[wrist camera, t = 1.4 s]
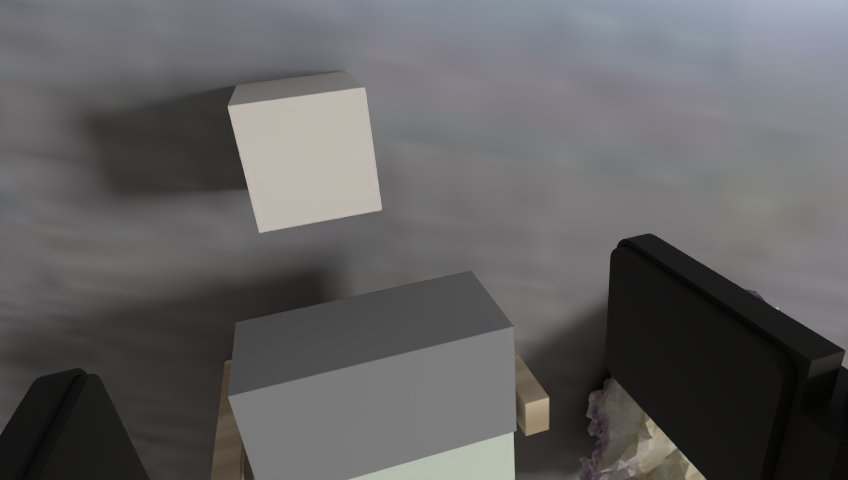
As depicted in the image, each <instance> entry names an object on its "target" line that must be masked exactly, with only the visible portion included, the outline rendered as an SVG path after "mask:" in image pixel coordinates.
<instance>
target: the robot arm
mask: <svg viewBox="0 0 848 480" xmlns="http://www.w3.org/2000/svg"><path fill="white" fill-rule="evenodd" d="M844 354H845V350H844V349H842V348H840V347H839V346H837V345H835V344H834V343H832V342H830V341H829V340H827V339H825V338H824V337H822V336H820V335H819V334H817V333H815V332H814V331H812V330H811V329H809V328H807V327H806V326H804V325H802V324H801V323H799V322H797V321H796V320H794V319H792V318H791V317H789V316H787V315H786V314H784V313H782V312H781V311H779V310H777V309H776V308H774V307H772V306H771V305H769V304H768V303H766V302H764V301H763V300H761V299H759V298H758V297H756V296H754V295H753V294H751V293H749V292H748V291H746V290H744V289H743V288H741V287H739V286H738V285H736V284H734V283H733V282H731V281H729V280H728V279H726V278H725V277H723V276H721V275H720V274H718V273H716V272H715V271H713V270H711V269H710V268H708V267H706V266H705V265H703V264H701V263H700V262H698V261H696V260H695V259H693V258H691V257H690V256H688V255H686V254H685V253H683V252H681V251H680V250H678V249H677V248H675V247H673V246H672V245H670V244H668V243H667V242H665V241H663V240H662V239H660V238H658V237H657V236H655V235H653V234H644V235H639V236H635V237H631V238H627V239H623V240H621V241H620V242H619V243H618V245H617V248H616V249H614V250H613V251H612V253H611V257H610V277H609V297H608V317H607V336H606V356H605V358H606V365H607V368H608V370H609V372H610V374H611V375H612V377H613V378H614V379H615V380H616V381H617V382H618V383H619V385H620V386H621V387H622V388H623V389H624V390H625V391H626V392H627V393H628V394H629V395H630V397H631V398H632V399H633V400H634V401H635V402H636V403H637V404H638V405H639V406H640V407H641V409H642V410H643V411H644V412H645V413H646V414H647V415H648V416H649V417H650V418H651V420H652V421H653V422H654V423H655V424H656V425H657V426H658V427H659V428H660V429H661V430H662V432H663V433H664V434H665V435H666V436H667V437H668V438H669V439H670V440H671V441H672V442H673V444H674V445H675V446H676V447H677V448H678V449H679V450H680V451H681V452H682V453H683V454H684V456H685V457H686V458H687V459H688V460H689V461H690V462H691V463H692V464H693V465H694V466H695V468H696V469H697V470H698V471H699V472H700V473H701V474H702V475H703V476H704V477H705V479H706V480H848V369H846V368H845V367H843V366H841V364H842V361H843V357H844ZM0 480H150V479H149V477H148V475H147V473H146V471H145V469H144V467H143V465H142V463H141V461H140V459H139V457H138V455H137V453H136V451H135V449H134V447H133V444H132V442H131V440H130V438H129V436H128V434H127V432H126V430H125V428H124V426H123V424H122V422H121V420H120V418H119V416H118V414H117V412H116V410H115V408H114V406H113V404H112V401H111V399H110V397H109V395H108V393H107V391H106V389H105V387H104V385H103V383H102V381H101V379H100V378H99V376H97V375H96V374H89V375H87V373H86V372H85V371H84V370H82V369H80V368H76V369H72V370H67V371H63V372H59V373H55V374H50V375H46V376H42V377H39V378H37V379H36V380H35V381H34V382H33V384H32V385H31V387H30V389H29V390H28V392H27V393H26V395H25V397H24V398H23V400H22V401H21V403H20V405H19V406H18V408H17V409H16V411H15V413H14V414H13V416H12V417H11V419H10V421H9V422H8V424H7V425H6V427H5V429H4V430H3V432H2V433H1V435H0Z"/></svg>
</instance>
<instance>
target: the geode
mask: <svg viewBox="0 0 848 480" xmlns="http://www.w3.org/2000/svg"><path fill="white" fill-rule="evenodd" d="M746 291H748V292H749V293H751V294H753V295H754V296H756V297H758V298H759V299H761V300H763V301H764V299H763V298H762V297H761V296H760V295H759V294H758V293H757V292H756V291H752V290H746ZM764 302H765V301H764ZM771 306H772V305H771ZM772 307H774V308H776V309H777V310H779V309H778V307H776V306H772ZM588 401H589V407H588V411H587V414H586V416H587V417H589V418H591V419H592V421H591V423H590V425H589V427H588V428H587V430H588V432H589V433H590V435H591V436H598V438H599V439H600V440H598V441H597V442H596V443H595V445H596V447H597V449H596V450H595V451H594V452H593V453H592V459H591V458H590V457H588V456H584V457H580V458H578V459H579V460H580V462H581V463H582V470H583V474H580V475H579V476H580V480H706V479H705V477H704V476H703V475H702V474H701V473H700V472H699V471H698V470H697V469H696V468H695V466H694V465H693V464H692V463H691V462H690V461H689V460H688V459H687V458H686V457H685V456H684V454H683V453H682V452H681V451H680V450H679V449H678V448H677V447H676V446H675V445H674V444H673V442H672V441H671V440H670V439H669V438H668V437H667V436H666V435H665V434H664V433H663V432H662V430H661V429H660V428H659V427H658V426H657V425H656V424H655V423H654V422H653V421H652V420H651V418H650V417H649V416H648V415H647V414H646V413H645V412H644V411H643V410H642V409H641V407H640V406H639V405H638V404H637V403H636V402H635V401H634V400H633V399H632V398H631V397H630V395H629V394H628V393H627V392H626V391H625V390H624V389H623V388H622V387H621V386H620V385H619V383H618V382H617V381H616V380H615V379H614V378H613V377H611V379H609V378H607V379H606V380H605V381H604V388H603V390H598V391H593V392H591V393H590V395H589V399H588Z"/></svg>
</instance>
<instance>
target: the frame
mask: <svg viewBox="0 0 848 480" xmlns="http://www.w3.org/2000/svg"><path fill="white" fill-rule="evenodd" d="M514 353H515V391H516V420H517V422H518V424H519V425H520V427H521V429H522V430H523V432H524V434H525V435H526V436H528V435H532V434H535V433H538V432H542V431H545V430H549V396H548V395H547V394H546V392H545V391H544V389H543V388H542V387H541V385H540V384H539V382H538V381H537V380H536V378H535V377H534V376H533V374H532V373H531V371H530V370H529V369H528V367H527V366H526V364H525V363H524V362H523V360H522V359H521V357H520V356H519V355H518V353H517V352H516V351H515V349H514ZM231 363H232V360H227V361H225V365H224V373H223V381H222V389H221V397H220V405H219V413H218V421H217V429H216V438H215V446H214V454H213V462H212V470H211V478H210V480H252V468H251V465H250V462H249V459H248V456H247V453H246V450H245V447H244V444H243V441H242V438H241V435H240V432H239V429H238V426H237V423H236V420H235V417H234V413H233V410H232V407H231V404H230V401H229V398H228V391H229V382H230V372H231Z"/></svg>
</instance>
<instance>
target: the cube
mask: <svg viewBox="0 0 848 480" xmlns="http://www.w3.org/2000/svg"><path fill="white" fill-rule="evenodd" d="M228 110H229V114H230V118H231V122H232V126H233V130H234V134H235V138H236V142H237V146H238V150H239V154H240V158H241V162H242V166H243V170H244V174H245V178H246V182H247V186H248V190H249V194H250V198H251V202H252V206H253V210H254V214H255V218H256V222H257V226H258V230H259V233H262V232H267V231H272V230H278V229H283V228H288V227H294V226H299V225H304V224H310V223H315V222H320V221H326V220H331V219H337V218H342V217H347V216H353V215H358V214H363V213H369V212H374V211H379V210H382V206H381V199H380V192H379V184H378V177H377V170H376V163H375V156H374V148H373V141H372V134H371V127H370V120H369V112H368V105H367V98H366V91H365V87H364V86H363V85H362V84H361V83H359V82H358V81H357V80H356V79H354V78H353V77H352V76H351V75H350V74H348V73H347V72H346V71H339V72H331V73H324V74H316V75H308V76H301V77H293V78H286V79H278V80H270V81H263V82H255V83H248V84H240V85H236V88H235V90H234V92H233V95H232V97H231V99H230V102H229V104H228Z"/></svg>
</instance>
